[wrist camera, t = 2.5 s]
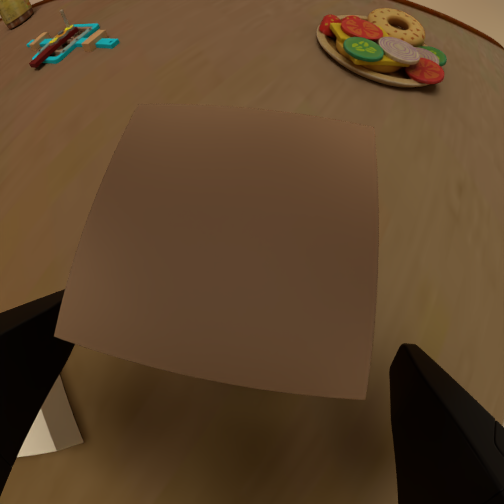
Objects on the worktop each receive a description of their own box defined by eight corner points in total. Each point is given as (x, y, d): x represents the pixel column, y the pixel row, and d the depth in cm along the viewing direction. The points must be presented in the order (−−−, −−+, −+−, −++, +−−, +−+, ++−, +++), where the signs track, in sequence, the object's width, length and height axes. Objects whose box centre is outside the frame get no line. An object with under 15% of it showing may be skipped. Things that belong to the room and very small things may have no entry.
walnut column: (286, 375, 16) (365, 399, 4) (201, 361, 16) (54, 336, 4) (297, 293, 17) (374, 127, 5) (216, 281, 18) (138, 103, 6)
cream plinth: (83, 442, 14) (56, 451, 12) (5, 455, 13) (-22, 460, 11) (46, 320, 17) (17, 310, 14) (-23, 351, 16) (-51, 345, 13)
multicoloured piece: (84, 79, 26) (139, 31, 29) (65, 41, 21) (129, -6, 24) (6, 71, 29) (50, 31, 32) (-9, 46, 24) (38, 7, 27)
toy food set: (403, 28, 28) (410, 8, 25) (462, 101, 24) (475, 79, 20) (299, 22, 28) (301, -2, 25) (343, 97, 23) (351, 67, 20)
